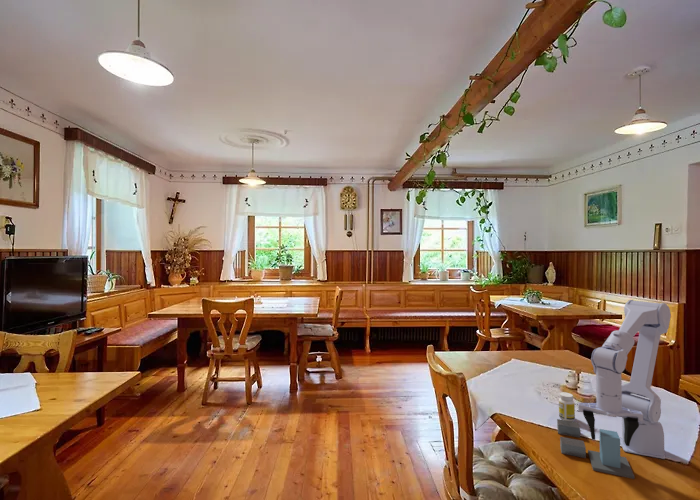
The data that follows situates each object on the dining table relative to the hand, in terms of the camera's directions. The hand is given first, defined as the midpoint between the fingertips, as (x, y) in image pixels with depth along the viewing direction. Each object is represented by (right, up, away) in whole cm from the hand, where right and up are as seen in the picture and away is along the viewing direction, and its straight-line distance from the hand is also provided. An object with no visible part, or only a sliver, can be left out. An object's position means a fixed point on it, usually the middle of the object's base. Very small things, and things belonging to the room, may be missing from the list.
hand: (609, 441), depth 99 cm
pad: (0, -7, 0) cm, 7 cm away
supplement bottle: (+4, -7, +27) cm, 28 cm away
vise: (-3, -7, +13) cm, 15 cm away
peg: (0, -6, 0) cm, 6 cm away
